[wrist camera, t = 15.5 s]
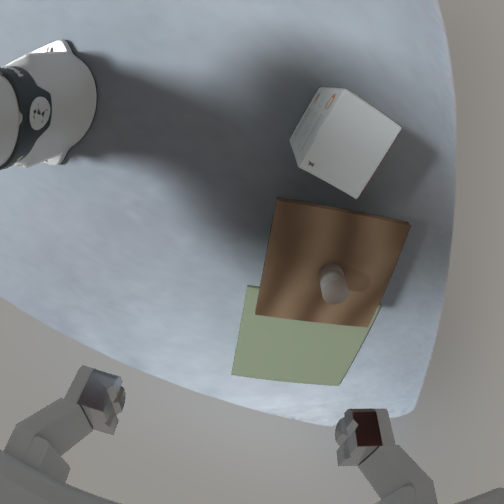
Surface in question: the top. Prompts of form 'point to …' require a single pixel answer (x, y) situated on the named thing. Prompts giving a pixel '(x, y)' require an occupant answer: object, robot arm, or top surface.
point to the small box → (342, 139)
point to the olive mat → (294, 347)
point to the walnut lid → (328, 263)
